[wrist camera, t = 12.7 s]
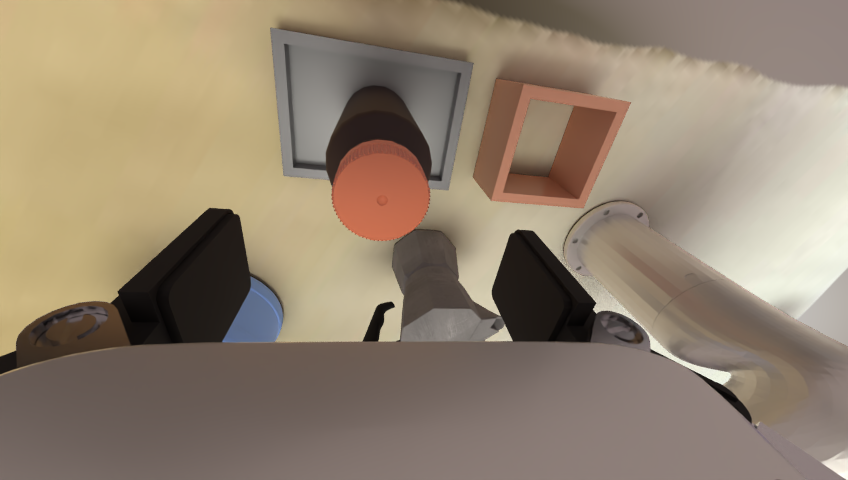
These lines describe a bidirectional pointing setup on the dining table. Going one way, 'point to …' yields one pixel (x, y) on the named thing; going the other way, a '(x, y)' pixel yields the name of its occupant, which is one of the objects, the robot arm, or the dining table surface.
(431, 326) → the coffeepot
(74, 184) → the dining table surface
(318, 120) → the tray
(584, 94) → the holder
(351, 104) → the vinegar
